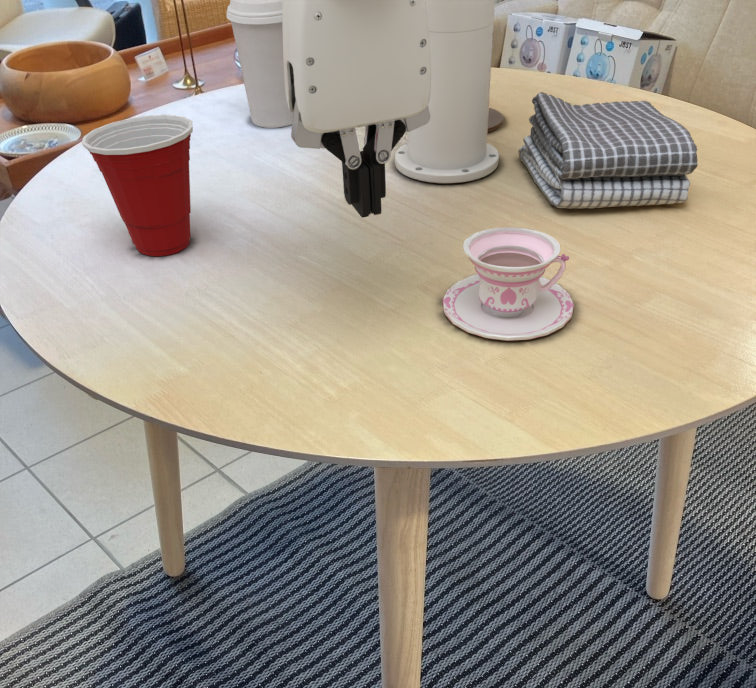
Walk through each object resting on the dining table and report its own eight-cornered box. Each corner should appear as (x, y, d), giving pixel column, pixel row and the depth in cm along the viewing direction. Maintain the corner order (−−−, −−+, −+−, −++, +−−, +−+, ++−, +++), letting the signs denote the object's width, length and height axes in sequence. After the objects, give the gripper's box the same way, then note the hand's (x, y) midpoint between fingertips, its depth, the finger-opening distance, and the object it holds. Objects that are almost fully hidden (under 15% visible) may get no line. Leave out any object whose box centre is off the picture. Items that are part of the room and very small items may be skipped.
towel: (556, 220, 92) (564, 146, 87) (516, 155, 105) (521, 88, 100) (692, 209, 93) (709, 135, 88) (636, 146, 106) (647, 79, 101)
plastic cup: (175, 212, 96) (152, 100, 88) (233, 241, 91) (215, 124, 82) (90, 245, 91) (58, 129, 83) (147, 278, 85) (118, 157, 77)
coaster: (416, 115, 117) (416, 111, 116) (483, 104, 119) (483, 100, 119) (445, 140, 110) (446, 135, 109) (516, 128, 112) (516, 123, 112)
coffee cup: (307, 131, 114) (297, 3, 103) (236, 133, 114) (218, 6, 104) (312, 106, 121) (303, -16, 110) (245, 108, 121) (229, -13, 111)
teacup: (438, 341, 75) (439, 277, 71) (445, 274, 84) (447, 214, 80) (576, 345, 74) (586, 281, 70) (569, 278, 83) (578, 216, 79)
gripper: (434, -83, 60) (432, 173, 73) (227, -56, 57) (263, 207, 70) (480, -61, 55) (469, 210, 68) (255, -30, 52) (289, 249, 65)
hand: (365, 208), depth 69 cm, fingers closed
